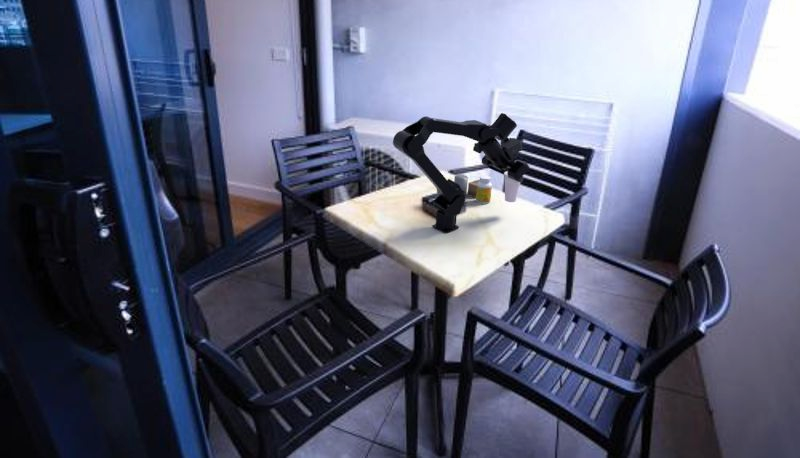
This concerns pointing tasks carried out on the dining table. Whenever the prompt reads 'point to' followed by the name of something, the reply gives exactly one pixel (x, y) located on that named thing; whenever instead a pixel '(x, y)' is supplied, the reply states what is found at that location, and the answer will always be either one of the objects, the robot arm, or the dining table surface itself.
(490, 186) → the supplement bottle
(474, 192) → the walnut block
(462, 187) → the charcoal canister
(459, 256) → the dining table surface
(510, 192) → the smoothie
